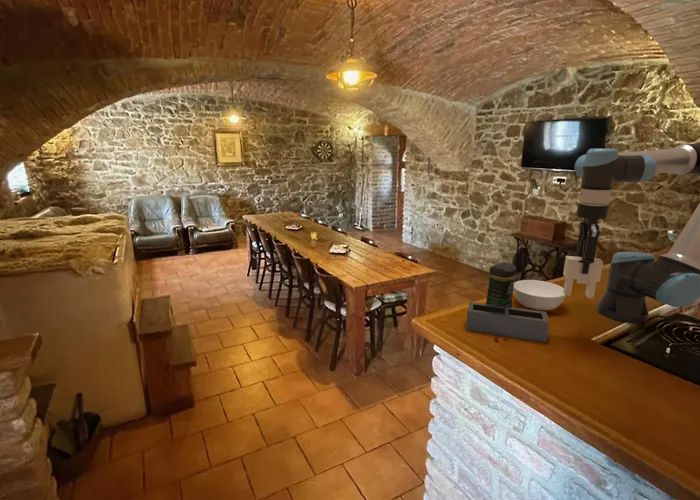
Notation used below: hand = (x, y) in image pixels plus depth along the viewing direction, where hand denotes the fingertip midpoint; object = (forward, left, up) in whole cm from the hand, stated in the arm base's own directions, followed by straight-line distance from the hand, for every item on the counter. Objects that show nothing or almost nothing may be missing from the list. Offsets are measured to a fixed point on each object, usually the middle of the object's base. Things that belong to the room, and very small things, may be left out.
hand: (580, 280), depth 115 cm
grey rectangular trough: (+20, +1, -20) cm, 28 cm away
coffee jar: (+21, -14, -20) cm, 32 cm away
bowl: (+8, -25, -20) cm, 33 cm away
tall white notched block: (0, 0, -5) cm, 5 cm away
